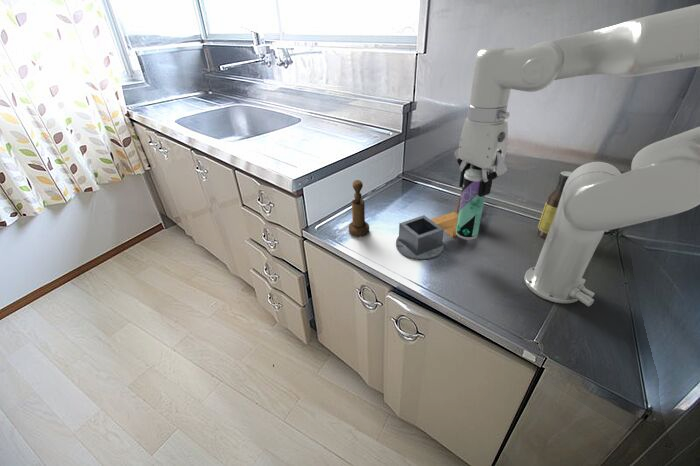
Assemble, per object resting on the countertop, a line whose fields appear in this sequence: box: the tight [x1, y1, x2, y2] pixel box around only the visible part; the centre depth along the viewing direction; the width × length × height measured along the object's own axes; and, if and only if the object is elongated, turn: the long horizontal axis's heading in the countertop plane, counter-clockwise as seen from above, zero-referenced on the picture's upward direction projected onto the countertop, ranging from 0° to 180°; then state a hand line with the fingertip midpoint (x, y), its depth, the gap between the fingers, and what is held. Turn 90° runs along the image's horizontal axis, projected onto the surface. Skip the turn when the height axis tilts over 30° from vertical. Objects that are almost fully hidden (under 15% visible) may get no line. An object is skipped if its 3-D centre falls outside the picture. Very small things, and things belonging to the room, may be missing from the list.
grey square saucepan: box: [395, 211, 458, 261], centre depth 94 cm, size 14×20×7 cm
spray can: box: [456, 165, 490, 241], centre depth 79 cm, size 6×6×20 cm
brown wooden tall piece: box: [348, 179, 370, 238], centre depth 98 cm, size 7×6×18 cm
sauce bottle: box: [536, 170, 573, 239], centre depth 92 cm, size 6×6×20 cm
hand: (474, 189), depth 78 cm, fingers closed on spray can, 5 cm apart
